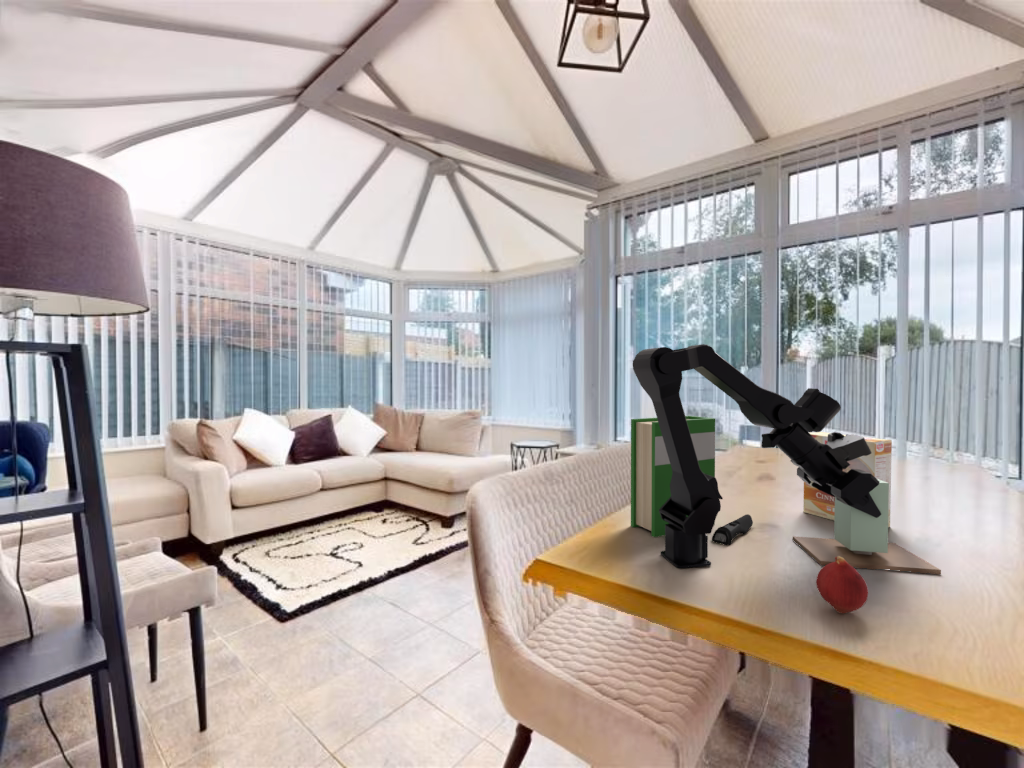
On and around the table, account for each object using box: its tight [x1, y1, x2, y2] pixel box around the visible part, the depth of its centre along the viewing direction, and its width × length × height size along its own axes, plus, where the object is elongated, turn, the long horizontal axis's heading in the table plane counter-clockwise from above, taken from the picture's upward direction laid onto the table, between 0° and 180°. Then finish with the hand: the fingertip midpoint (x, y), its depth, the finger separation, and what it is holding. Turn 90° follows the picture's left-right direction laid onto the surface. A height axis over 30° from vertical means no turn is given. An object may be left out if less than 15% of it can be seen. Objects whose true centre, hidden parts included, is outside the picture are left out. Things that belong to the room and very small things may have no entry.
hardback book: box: [630, 415, 716, 538], centre depth 98 cm, size 18×7×24 cm, turn 115°
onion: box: [815, 556, 869, 614], centre depth 62 cm, size 6×6×8 cm
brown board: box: [792, 535, 942, 575], centre depth 82 cm, size 18×12×4 cm, turn 78°
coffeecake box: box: [802, 431, 893, 528], centre depth 102 cm, size 15×7×20 cm, turn 25°
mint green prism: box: [833, 479, 889, 553], centre depth 82 cm, size 6×6×12 cm
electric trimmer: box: [711, 514, 754, 546], centre depth 93 cm, size 4×16×3 cm, turn 132°
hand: (868, 510), depth 81 cm, fingers closed on mint green prism, 6 cm apart
